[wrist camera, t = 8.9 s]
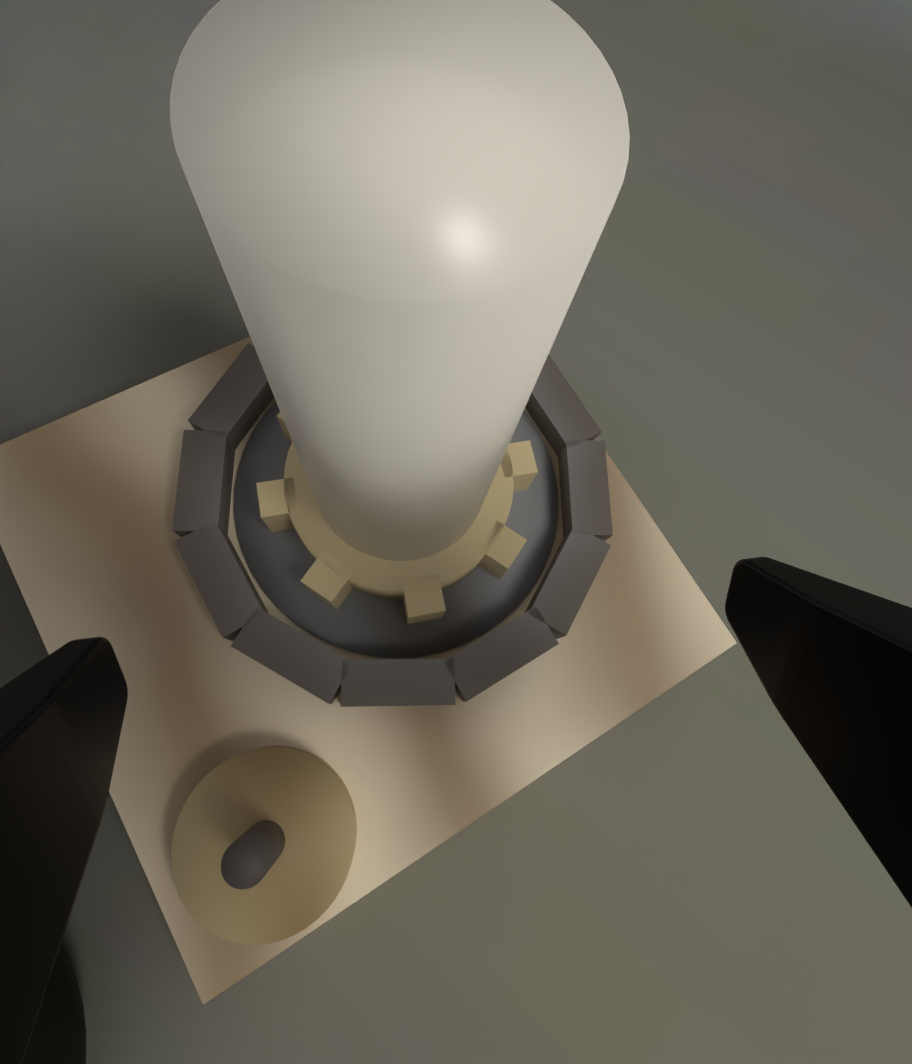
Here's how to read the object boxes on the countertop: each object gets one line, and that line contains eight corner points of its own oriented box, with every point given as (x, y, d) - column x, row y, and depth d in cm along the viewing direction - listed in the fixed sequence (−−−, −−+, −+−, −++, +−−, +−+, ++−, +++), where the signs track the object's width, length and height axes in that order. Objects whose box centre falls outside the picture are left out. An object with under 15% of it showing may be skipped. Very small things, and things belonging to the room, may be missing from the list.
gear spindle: (435, 678, 17) (530, 623, 5) (212, 525, 18) (-184, 148, 6) (572, 466, 19) (867, 73, 7) (370, 336, 20) (329, -228, 8)
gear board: (220, 977, 16) (159, 1073, 12) (-4, 478, 19) (-116, 416, 15) (711, 647, 20) (795, 632, 16) (459, 272, 23) (474, 176, 18)
